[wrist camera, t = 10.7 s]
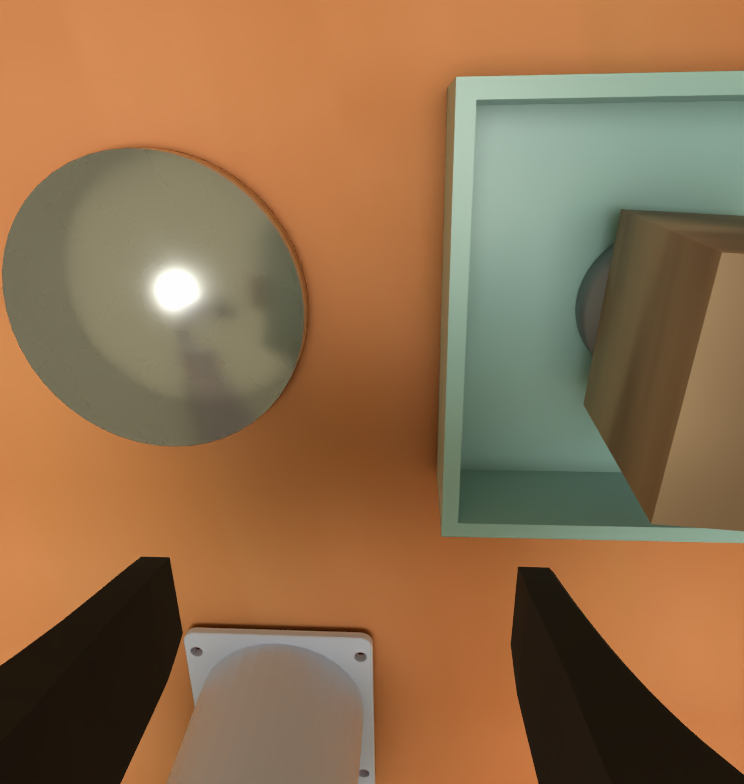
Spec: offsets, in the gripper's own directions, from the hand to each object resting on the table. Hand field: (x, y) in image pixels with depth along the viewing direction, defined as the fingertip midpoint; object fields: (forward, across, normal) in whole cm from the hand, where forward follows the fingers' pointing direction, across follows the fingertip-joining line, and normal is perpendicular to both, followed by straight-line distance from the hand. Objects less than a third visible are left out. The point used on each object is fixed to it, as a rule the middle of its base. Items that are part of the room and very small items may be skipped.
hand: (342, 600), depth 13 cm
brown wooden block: (+10, -9, -4) cm, 14 cm away
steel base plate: (+10, +7, -4) cm, 13 cm away
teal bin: (+10, -9, -4) cm, 14 cm away
